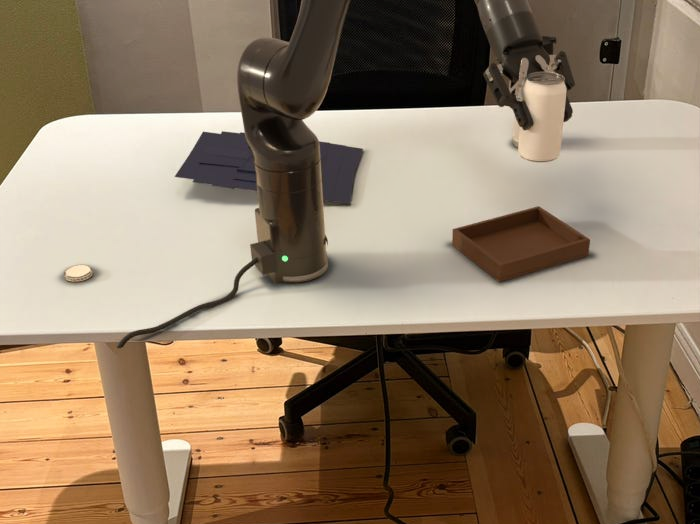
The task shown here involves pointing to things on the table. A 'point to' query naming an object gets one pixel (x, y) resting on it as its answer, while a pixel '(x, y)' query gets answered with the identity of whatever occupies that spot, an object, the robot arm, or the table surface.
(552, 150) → the can
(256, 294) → the table surface
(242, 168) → the papers
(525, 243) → the tray
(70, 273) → the cream ridged disc
